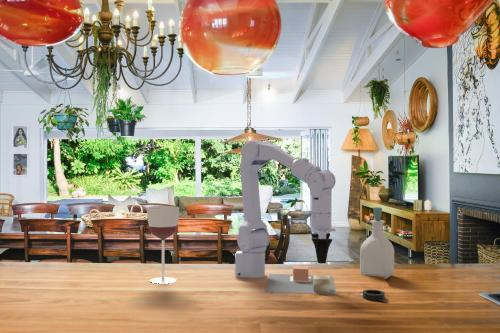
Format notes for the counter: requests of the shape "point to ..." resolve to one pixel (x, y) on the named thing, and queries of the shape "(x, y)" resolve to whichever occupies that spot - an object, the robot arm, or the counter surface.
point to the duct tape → (374, 295)
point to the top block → (321, 283)
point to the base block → (300, 273)
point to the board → (294, 284)
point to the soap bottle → (377, 251)
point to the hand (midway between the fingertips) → (321, 260)
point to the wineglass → (163, 231)
